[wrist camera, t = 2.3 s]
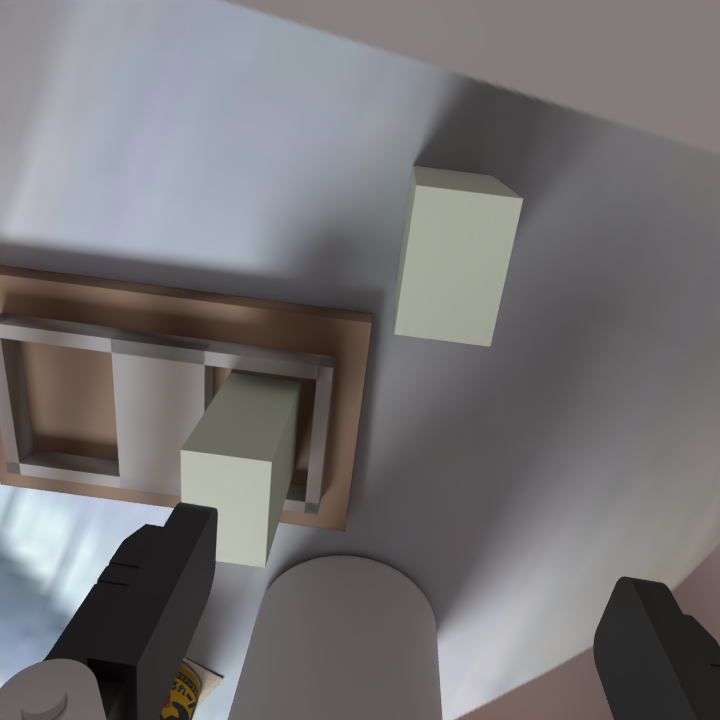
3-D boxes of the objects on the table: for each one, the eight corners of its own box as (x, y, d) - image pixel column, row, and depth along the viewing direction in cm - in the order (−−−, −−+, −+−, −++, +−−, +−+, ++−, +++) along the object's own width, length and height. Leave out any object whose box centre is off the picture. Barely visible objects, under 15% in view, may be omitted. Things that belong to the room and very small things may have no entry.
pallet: (15, 470, 38) (-15, 499, 35) (-17, 263, 32) (-56, 277, 30) (346, 515, 38) (342, 547, 35) (372, 313, 32) (370, 333, 29)
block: (228, 461, 35) (181, 556, 28) (230, 372, 32) (180, 449, 25) (293, 470, 35) (265, 567, 28) (301, 381, 32) (271, 462, 25)
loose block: (396, 281, 31) (394, 334, 24) (412, 165, 29) (416, 185, 22) (469, 290, 31) (490, 346, 24) (492, 175, 29) (523, 198, 22)
